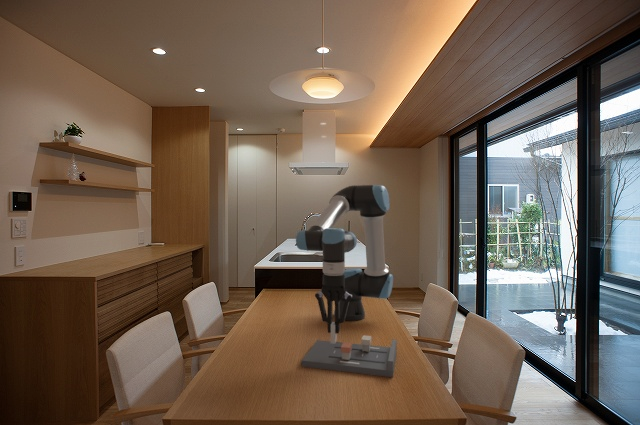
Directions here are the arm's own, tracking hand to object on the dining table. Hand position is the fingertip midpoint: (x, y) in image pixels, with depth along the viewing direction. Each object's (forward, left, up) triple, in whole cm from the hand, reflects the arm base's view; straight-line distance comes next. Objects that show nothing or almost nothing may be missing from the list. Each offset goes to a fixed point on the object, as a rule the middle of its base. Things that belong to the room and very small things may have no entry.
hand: (333, 342), depth 128 cm
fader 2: (-8, +10, -5) cm, 14 cm away
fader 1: (+1, +5, -5) cm, 7 cm away
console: (-4, +5, -7) cm, 10 cm away
